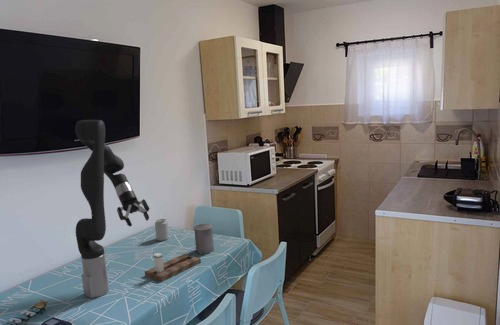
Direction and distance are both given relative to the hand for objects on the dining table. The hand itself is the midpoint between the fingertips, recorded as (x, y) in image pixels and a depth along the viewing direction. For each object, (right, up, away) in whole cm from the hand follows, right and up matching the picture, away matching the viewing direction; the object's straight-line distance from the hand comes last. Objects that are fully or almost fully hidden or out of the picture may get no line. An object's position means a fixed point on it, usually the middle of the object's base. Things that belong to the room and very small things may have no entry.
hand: (139, 222), depth 183 cm
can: (0, -18, +51) cm, 54 cm away
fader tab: (+10, -24, -1) cm, 25 cm away
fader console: (+15, -24, +6) cm, 29 cm away
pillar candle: (+28, -20, +28) cm, 44 cm away
